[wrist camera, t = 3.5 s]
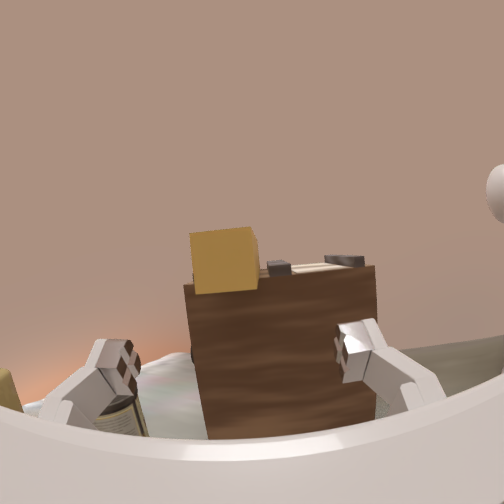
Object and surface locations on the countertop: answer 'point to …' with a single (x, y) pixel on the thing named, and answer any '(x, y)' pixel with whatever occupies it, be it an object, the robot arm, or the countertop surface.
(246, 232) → the lever bar
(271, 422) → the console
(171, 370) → the countertop surface
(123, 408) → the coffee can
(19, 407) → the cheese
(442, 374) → the countertop surface
